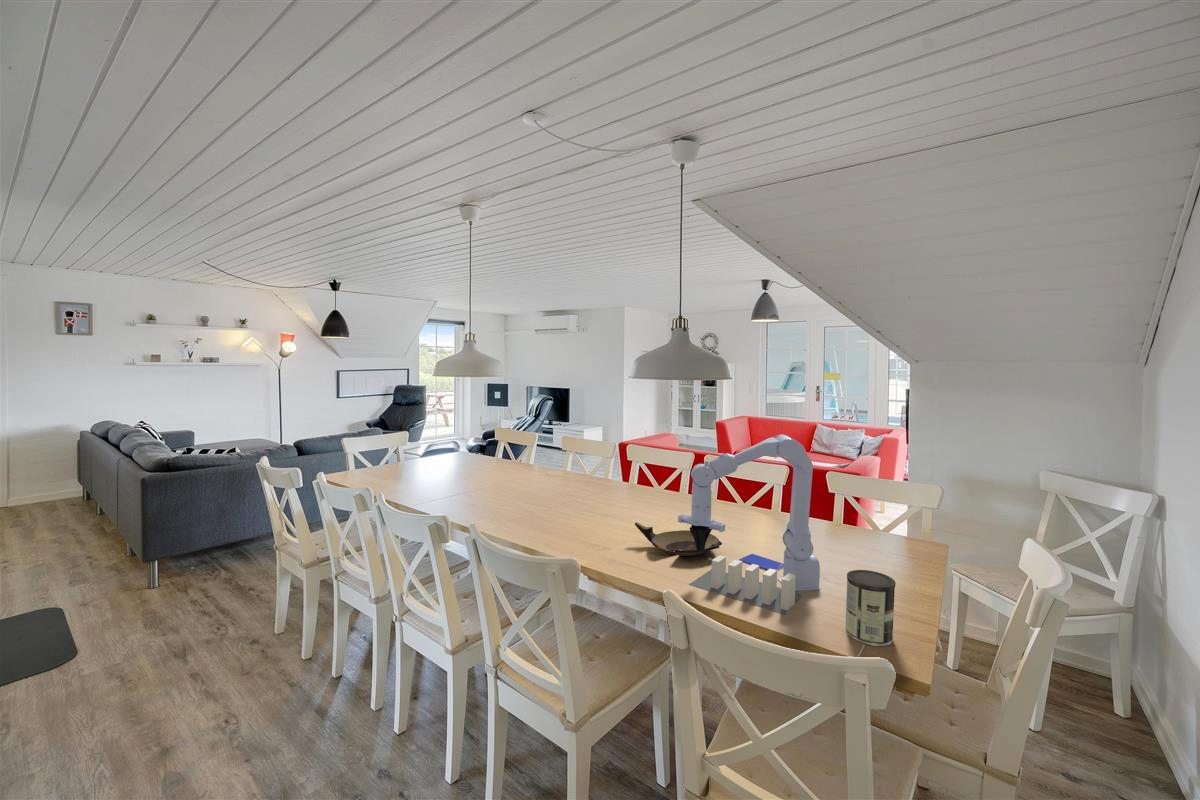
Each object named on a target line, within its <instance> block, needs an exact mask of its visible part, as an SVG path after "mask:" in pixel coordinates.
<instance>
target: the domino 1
mask: <svg viewBox="0 0 1200 800" xmlns="http://www.w3.org/2000/svg"><path fill="white" fill-rule="evenodd" d="M726 564H727V557H726V556H724V555H718V556H716V557H715V558H713V559H711V569H712V572H711V587H712V588H715V589H719V588H720V587H721V586H723V585H724V584H725V577H726V573H727V572H726V571H727V570H726V569H727V565H726Z"/></svg>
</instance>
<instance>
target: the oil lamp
mask: <svg viewBox="0 0 1200 800" xmlns="http://www.w3.org/2000/svg"><path fill="white" fill-rule="evenodd" d="M634 526H635V527H636V528H637V529H638V530H639V531H640V533H642V535H643V536H644V537H645V538H646V539H647V541H648V542H650V543H651V545H652V546H654V548H656V549H658V550H660V551H662V552H665V553H667V554H670V555H674V556H680V557H691V556H698V555H701V554H703V553H707V552H711V551H713V550H717V549H720V546H722V545H723V543H722V541H720V539H719V538H718V537H717V536H715V535H713V534H712V533H710V534H709V536H708V538H707V541H706V544H705V548H704V550H703V551H702V552H699V551H697V549H696V544H695V541H694V538H693V536H692V533H691V532H690V529H689V530H687V529H684V530H671V531H663V532H660V533H654V531H653V530H654V527H653V526H645V525H643V524H642V523H639V522H634Z"/></svg>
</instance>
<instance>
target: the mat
mask: <svg viewBox="0 0 1200 800" xmlns="http://www.w3.org/2000/svg"><path fill="white" fill-rule="evenodd" d="M711 572H712V568H711V569H710V570H708V571H707V572H705V573H704V574H702V575H701V576H699V577H697V578H695V580H693V581H692V582H690V583H688V585H689V586H692V587H694V588H698V589H701V590H703V591H708V592H710V593H714V594H717V595H721V596H724V597H727V598H730V599H732V600H737V601H739V602H742V603H746V604H748V605H752V606H754V607H758V608H762V609H766V610H768V611H772V612H775V613H778V614H780V615H786V614H787V613H788V612H789V611H787V610H783V609H781V587H779V586H777V589H776V599H775V600H774V601H773V602H772V603H771V604H770V605H767V604H764V603H762V587H763V582H761V581H759V593H758V594H757V595H756V596H755V597H754V598H753V599H752V600H751V599H747V598H744V594H745V576H744V577H743V576H742V589H740V590H739V591H738V592H737V593H735V594H731V593H728V592H727V591H728V572H726V577H725V584H724V585H723V586H721V587H720V588H719V589H715V588H712V587H711ZM803 596H804V593H800V592H797V591H795V604H796V603H797V602H799V600H800V599H802V598H803ZM795 604H794V605H793V606H792V607H791V609H792V608H793V607H794V606H795Z"/></svg>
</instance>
